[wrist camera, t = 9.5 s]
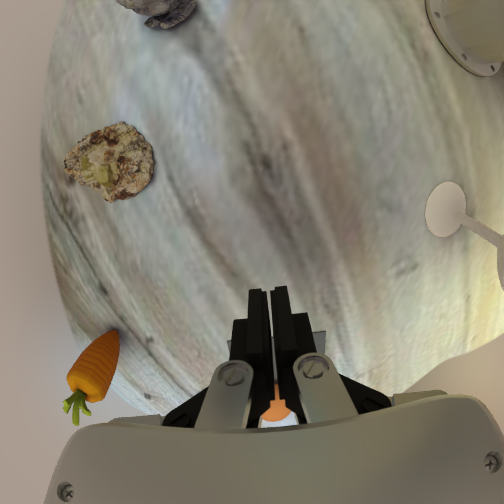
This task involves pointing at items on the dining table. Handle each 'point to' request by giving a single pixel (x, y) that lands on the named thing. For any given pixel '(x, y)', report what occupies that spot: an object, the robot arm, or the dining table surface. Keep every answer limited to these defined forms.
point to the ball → (276, 409)
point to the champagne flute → (458, 219)
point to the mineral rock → (112, 162)
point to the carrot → (92, 373)
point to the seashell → (161, 10)
